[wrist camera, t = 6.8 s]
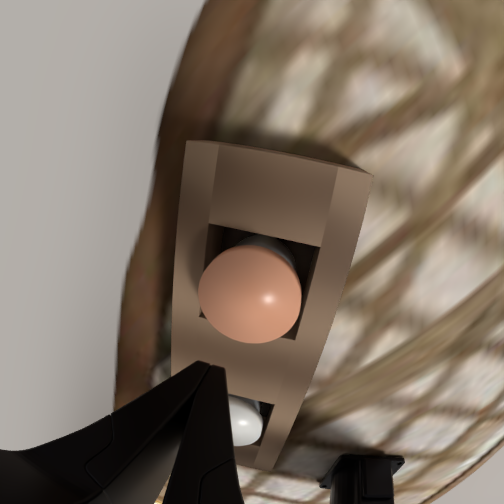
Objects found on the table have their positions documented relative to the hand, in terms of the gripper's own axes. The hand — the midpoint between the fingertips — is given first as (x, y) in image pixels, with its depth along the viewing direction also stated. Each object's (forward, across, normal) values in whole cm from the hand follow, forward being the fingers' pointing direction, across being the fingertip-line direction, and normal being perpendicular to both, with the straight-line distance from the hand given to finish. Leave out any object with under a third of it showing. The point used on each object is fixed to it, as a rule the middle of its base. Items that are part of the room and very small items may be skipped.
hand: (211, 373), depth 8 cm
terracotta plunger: (+9, 0, 0) cm, 9 cm away
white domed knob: (+9, 0, +10) cm, 14 cm away
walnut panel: (+9, 0, +5) cm, 11 cm away
